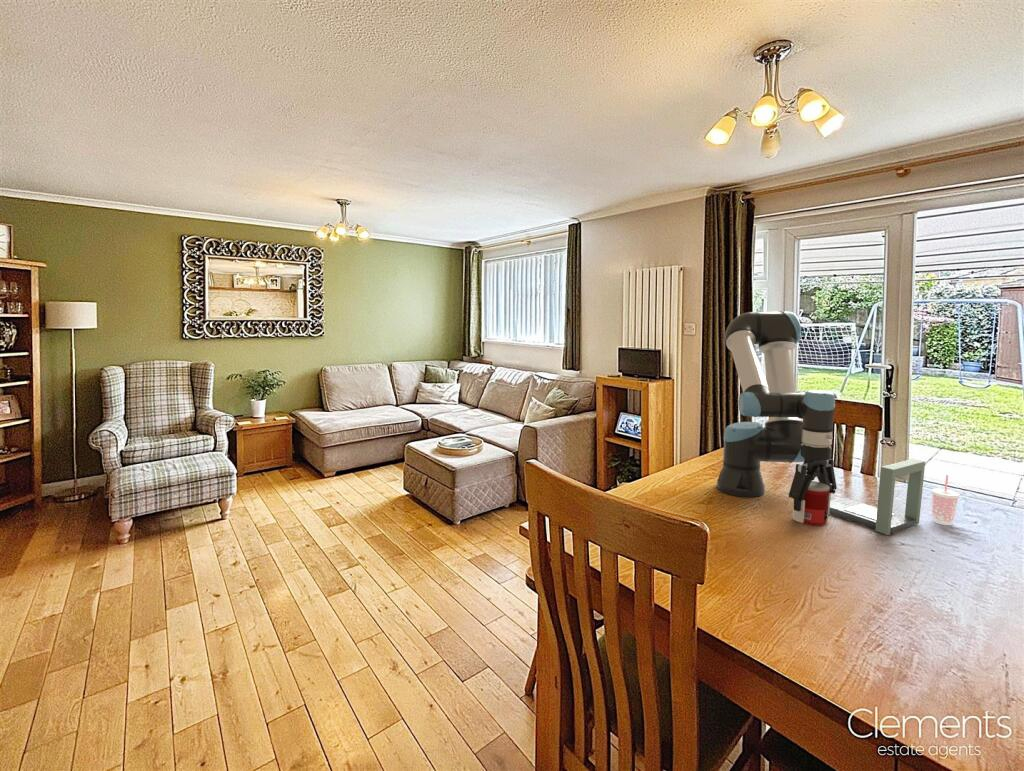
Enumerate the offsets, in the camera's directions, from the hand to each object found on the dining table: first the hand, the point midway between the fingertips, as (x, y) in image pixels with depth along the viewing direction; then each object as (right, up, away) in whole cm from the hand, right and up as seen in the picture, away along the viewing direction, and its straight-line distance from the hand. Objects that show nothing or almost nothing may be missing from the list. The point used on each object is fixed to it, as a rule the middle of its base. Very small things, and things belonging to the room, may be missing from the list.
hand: (811, 517), depth 146 cm
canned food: (0, -1, 0) cm, 1 cm away
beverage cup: (+37, -1, -2) cm, 37 cm away
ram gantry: (+21, -1, -6) cm, 22 cm away
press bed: (+17, -1, +2) cm, 17 cm away
